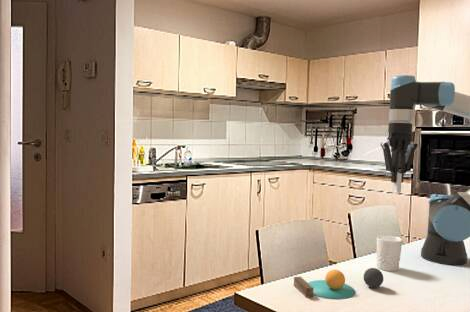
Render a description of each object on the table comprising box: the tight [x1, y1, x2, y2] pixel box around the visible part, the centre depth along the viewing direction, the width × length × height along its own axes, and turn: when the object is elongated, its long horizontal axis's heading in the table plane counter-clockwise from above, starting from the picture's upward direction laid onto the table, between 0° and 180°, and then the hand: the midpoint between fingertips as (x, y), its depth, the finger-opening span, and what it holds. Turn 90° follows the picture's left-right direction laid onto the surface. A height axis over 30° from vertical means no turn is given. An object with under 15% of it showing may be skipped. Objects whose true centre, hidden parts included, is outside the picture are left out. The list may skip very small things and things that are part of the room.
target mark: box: [307, 279, 356, 300], centre depth 128 cm, size 14×14×1 cm
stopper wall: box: [293, 276, 314, 298], centre depth 126 cm, size 2×9×2 cm, turn 14°
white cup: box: [376, 235, 403, 272], centre depth 149 cm, size 8×8×10 cm
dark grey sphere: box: [363, 267, 384, 289], centre depth 131 cm, size 6×6×6 cm
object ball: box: [324, 269, 346, 290], centre depth 128 cm, size 6×6×6 cm
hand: (396, 192), depth 154 cm, fingers closed
